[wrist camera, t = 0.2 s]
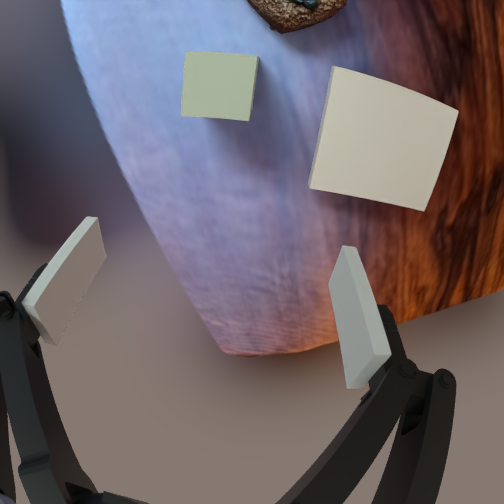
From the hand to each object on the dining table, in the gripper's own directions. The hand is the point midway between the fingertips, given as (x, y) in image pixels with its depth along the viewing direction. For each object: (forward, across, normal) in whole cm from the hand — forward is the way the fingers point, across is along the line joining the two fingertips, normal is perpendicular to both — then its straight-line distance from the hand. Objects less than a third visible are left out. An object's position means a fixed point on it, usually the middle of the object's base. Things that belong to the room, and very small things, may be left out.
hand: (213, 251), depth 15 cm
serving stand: (+26, +18, +2) cm, 32 cm away
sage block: (+27, -3, +7) cm, 28 cm away
